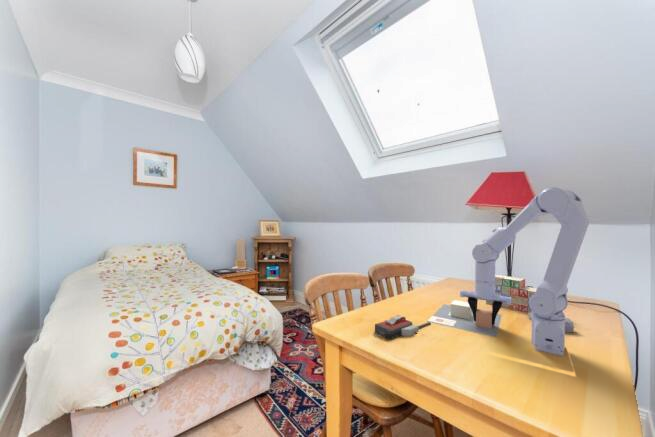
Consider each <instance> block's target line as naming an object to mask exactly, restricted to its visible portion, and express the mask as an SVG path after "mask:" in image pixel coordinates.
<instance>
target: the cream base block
mask: <svg viewBox="0 0 655 437" xmlns="http://www.w3.org/2000/svg"><path fill="white" fill-rule="evenodd" d="M450 306H451V315H453V316H458V317H463V318H468V319H469V318H470V316H471V314H472V310H471V307H470V305H469V303H468V301H461V300H455V299H453V300H452V302H451V303H450Z"/></svg>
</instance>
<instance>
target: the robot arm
mask: <svg viewBox="0 0 655 437" xmlns="http://www.w3.org/2000/svg"><path fill="white" fill-rule="evenodd" d="M550 214H551V215H552V216H553V217H554V218H555V219H556V220H557V222H558V223H559V224H560V225H561V227H560V230H559V232H558V235H557V238H556V241H555V243H554V247H553V249H552V253H551V256H550V259H549V262H548V264H547V268H546V270H545V273H544V277H543V279H542V281H541V282H540V284H539V285H538V286H537V288H536V289H537V290H536V292H535V293H534V294H533V295H532V296H531V297H530V298H529V302H528V303H529V307H530V309H531V310H532V320H531V340H530V341H531V343H532V344H533V346H534V350H535V351H536V350H537V351H541V352H545V353H550V354H553V355H557V356H558V355H559V356H565V355H564V353H565V352H564V351H565V347H566V346H565V345H566V344H565V342H566V341H565V340H566V336H565V335H566V332H565V317H566V315H565V314H564V312H563V311H565V310H566V309H567V308H568V305H569V302H568V297H567V295H568V291H569V289H568V286H567V285H568V283H569V280H570V277H571V274H572V271H573V269H574V267H575V264H576V261H577V258H578V255H579V252H580V250H581V247H582V244H583V241H584V239H585V235H586V233H587V230H588V228H589V225H590V220H589V218H588V215H587V213H586V211H585V208H584V205H583V200H582V198H581V197H579V196H578V195H577V194H576V193H575V192H574V191H572V190H569V189H564V188H563V189H562V188H559V187H555V186H552V187H550V186H549V187H547V188H544V189H543V190H542V191H541V192H540V193H539V194H538V195H536V196H534V197H533V198H532V199H531V200H530V202H529V203H528V204H527V205H526V206H524V208H523V209H522V210H521V211H520V212H519V213H518V214H517V215H515V217H514V218H513V219H512V220H511V221H510V222H509V223H508V224H507V225H506V226H500V227H498V228H494V229H493V230H492V234H490V235H489V237H487V238H486V239H483V240H482V244H481V243H480V244H476V245H475V246H474V248H472V252H471V253H472V254H471V255H472V258H473V260H475V262H474V263H475V267H474V269H475V272H474V276H475V278H474V282H475V283H474V290H473V291H472V290H464V289H463V290H460V292H459V297H461V298H467V302H468V303H469V305H470V307H471V310H472V313H473V316H474V321H476V311H477V309H478V301H479V300H482V301H485V302H486V301H492V302H493V303H492V305H491V307H492V309H491V311H492V325H494V324H495V319H496V316H497V314H499V311H500V309H501V308H502V307H501V306H502V303H505V304H508V305H511V297H505V296H501V295H496V294H495V275H496V261H497V260H498V259H499V257H500V254H501V253H502V252H504V250H506V249H507V248H508V247H509V246H511V245H512V244H513V243H514V242H515V241H516V234H518V233H519V232H521V230H523V229H524V228H526V227H527V226H528V225H529V224H530V223H531V222H533V221H535V219H537V218H538V217H542V216H546V215H550Z"/></svg>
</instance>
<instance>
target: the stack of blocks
mask: <svg viewBox="0 0 655 437" xmlns="http://www.w3.org/2000/svg"><path fill="white" fill-rule="evenodd" d="M536 290H537V288H535V287H530V286H526V279H525V278H521V277H520V278H519V277H514V276H509V275H500V274H495V294H496V295H501V296H505V297H511V305H508V304H505V303H502V306H501V308H506V309H512V310H517V311H521V312H526V313H527V314H528V313H529V312H532V310H531V309H530V307H529V303H528V302H529V298H530V297H531V296H532V295H533V294H534V293H535V292H536ZM492 303H493V302H492V301H486V300H485V304H486V305H488V306H492Z"/></svg>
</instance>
